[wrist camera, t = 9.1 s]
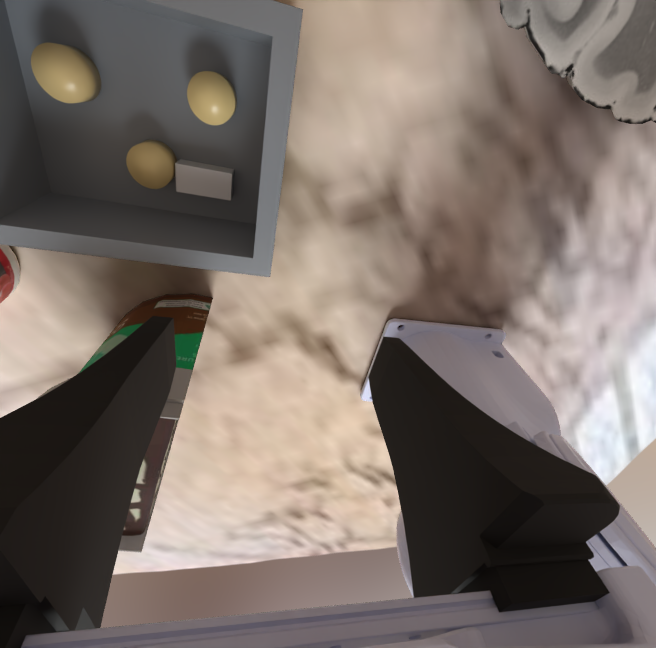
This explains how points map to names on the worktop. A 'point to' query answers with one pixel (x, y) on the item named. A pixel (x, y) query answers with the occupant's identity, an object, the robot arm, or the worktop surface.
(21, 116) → the tub
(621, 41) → the brain slice
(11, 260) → the pill bottle
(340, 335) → the worktop surface
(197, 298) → the food container
